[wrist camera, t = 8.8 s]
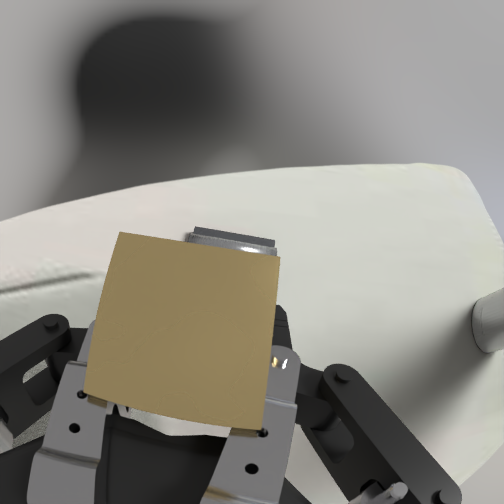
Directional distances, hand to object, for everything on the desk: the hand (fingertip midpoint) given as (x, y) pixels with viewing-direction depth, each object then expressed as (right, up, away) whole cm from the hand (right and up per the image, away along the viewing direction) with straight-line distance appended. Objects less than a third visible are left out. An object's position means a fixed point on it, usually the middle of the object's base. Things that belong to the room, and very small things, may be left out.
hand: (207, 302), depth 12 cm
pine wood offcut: (-1, -4, +4) cm, 6 cm away
